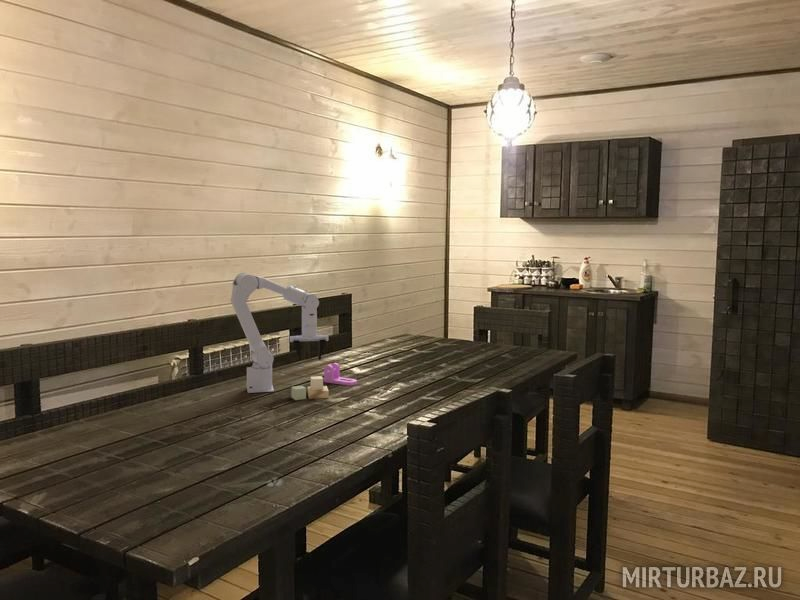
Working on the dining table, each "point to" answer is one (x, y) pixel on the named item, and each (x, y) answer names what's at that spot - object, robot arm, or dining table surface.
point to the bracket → (336, 375)
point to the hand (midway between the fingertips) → (309, 359)
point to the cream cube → (317, 383)
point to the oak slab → (318, 393)
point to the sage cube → (298, 392)
